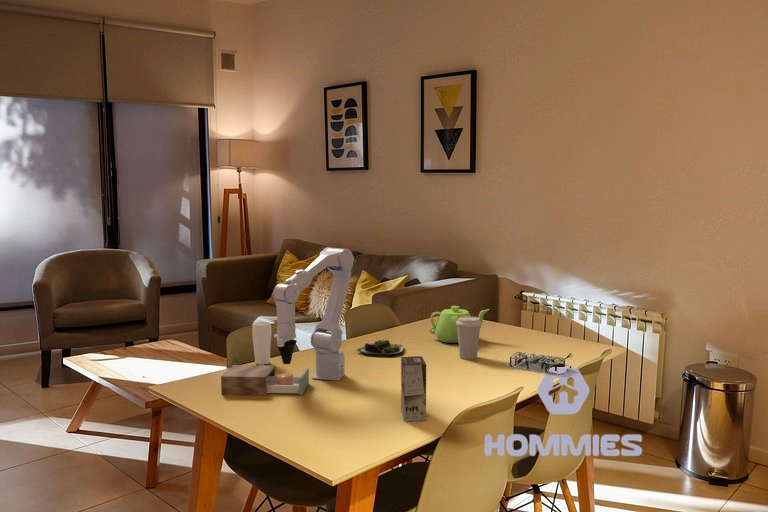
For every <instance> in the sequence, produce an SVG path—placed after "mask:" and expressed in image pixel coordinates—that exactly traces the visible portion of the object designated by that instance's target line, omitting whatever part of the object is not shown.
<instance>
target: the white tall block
mask: <svg viewBox="0 0 768 512" xmlns="http://www.w3.org/2000/svg"><path fill="white" fill-rule="evenodd" d="M251 325H252V328H251V330H252V331H251V332H252V335H251V336H252V343H253V353H254V365H257V364H259V365H264V364H267V365H269V364H270V362H271V343H272V322H270V321H255V322H253V323H252V324H251Z"/></svg>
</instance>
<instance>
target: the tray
mask: <svg viewBox="0 0 768 512" xmlns="http://www.w3.org/2000/svg"><path fill="white" fill-rule="evenodd" d="M309 371H310V368H309V367H306V368H305V369H304V371H303V372H302V374H301V375H300V376H294V375H293V385H278V384H277V376H278V375H275V376H268V377H267V378H266V390H267V394H298V395H299V396H302V395H303V394H304V391H305V390H306V388H307V387H308V385H309V383H310V372H309Z"/></svg>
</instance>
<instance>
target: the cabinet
mask: <svg viewBox="0 0 768 512" xmlns="http://www.w3.org/2000/svg"><path fill="white" fill-rule="evenodd" d="M268 376H276V365H269V364H267V365H257V364H233V365H231V367H229V368H228V369H227V370H226V371H225V372H224V373H222V375H221V376H220V387H221V390H220V391H221V395H233V396H234V395H236V396H237V395H238V396H267V395H268V393H267V390H266V378H267V377H268Z"/></svg>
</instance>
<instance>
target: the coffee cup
mask: <svg viewBox="0 0 768 512" xmlns="http://www.w3.org/2000/svg"><path fill="white" fill-rule="evenodd" d="M470 316H471V315H470ZM470 316H465V317H459V318H458V320H457V322H456V325H457V329H458V342H459V343H458V352H459V353H458V355H459V359H461V360H465V361H473V360H476V359H477V358H478V351H479V350H478V349H479V341H480V333H481V332H480V331H481V328H480V325H481V326H482V325H483V323H482V324H481V321H480V319H479V318H478V317H477V316H471V317H470Z"/></svg>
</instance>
